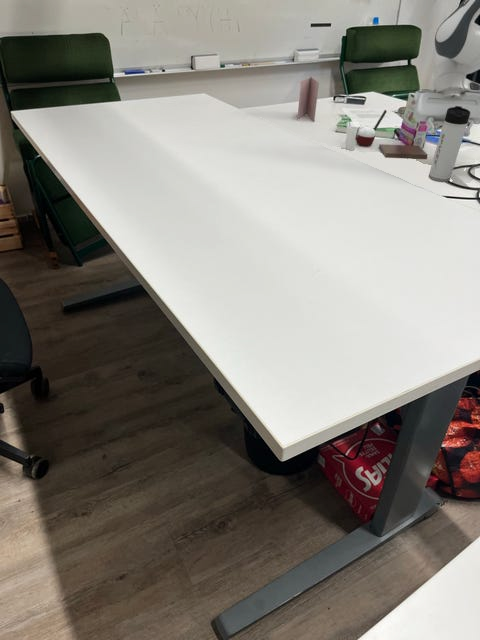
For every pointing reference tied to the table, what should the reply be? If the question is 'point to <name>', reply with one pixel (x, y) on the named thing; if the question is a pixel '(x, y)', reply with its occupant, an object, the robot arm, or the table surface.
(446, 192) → the table surface
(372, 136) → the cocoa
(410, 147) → the walnut board
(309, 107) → the greeting card
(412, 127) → the candy bar box
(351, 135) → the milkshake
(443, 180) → the travel mug
